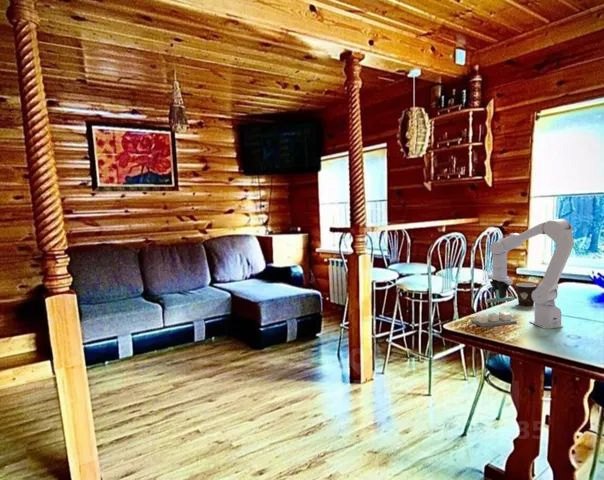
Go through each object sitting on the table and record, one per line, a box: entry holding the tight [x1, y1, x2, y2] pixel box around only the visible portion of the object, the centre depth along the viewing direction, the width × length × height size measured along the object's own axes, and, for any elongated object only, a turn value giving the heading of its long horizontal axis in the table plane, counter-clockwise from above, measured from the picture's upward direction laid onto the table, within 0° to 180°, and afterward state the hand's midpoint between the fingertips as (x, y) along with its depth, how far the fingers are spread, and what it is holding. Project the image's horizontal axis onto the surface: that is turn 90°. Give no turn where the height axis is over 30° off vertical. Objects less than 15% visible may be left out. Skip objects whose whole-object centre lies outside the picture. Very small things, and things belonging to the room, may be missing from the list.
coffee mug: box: [515, 282, 537, 308], centre depth 192 cm, size 12×9×10 cm
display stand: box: [470, 311, 518, 328], centre depth 170 cm, size 16×8×4 cm, turn 100°
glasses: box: [485, 290, 515, 304], centre depth 179 cm, size 13×4×5 cm, turn 100°
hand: (500, 297), depth 179 cm, fingers closed on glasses, 2 cm apart
